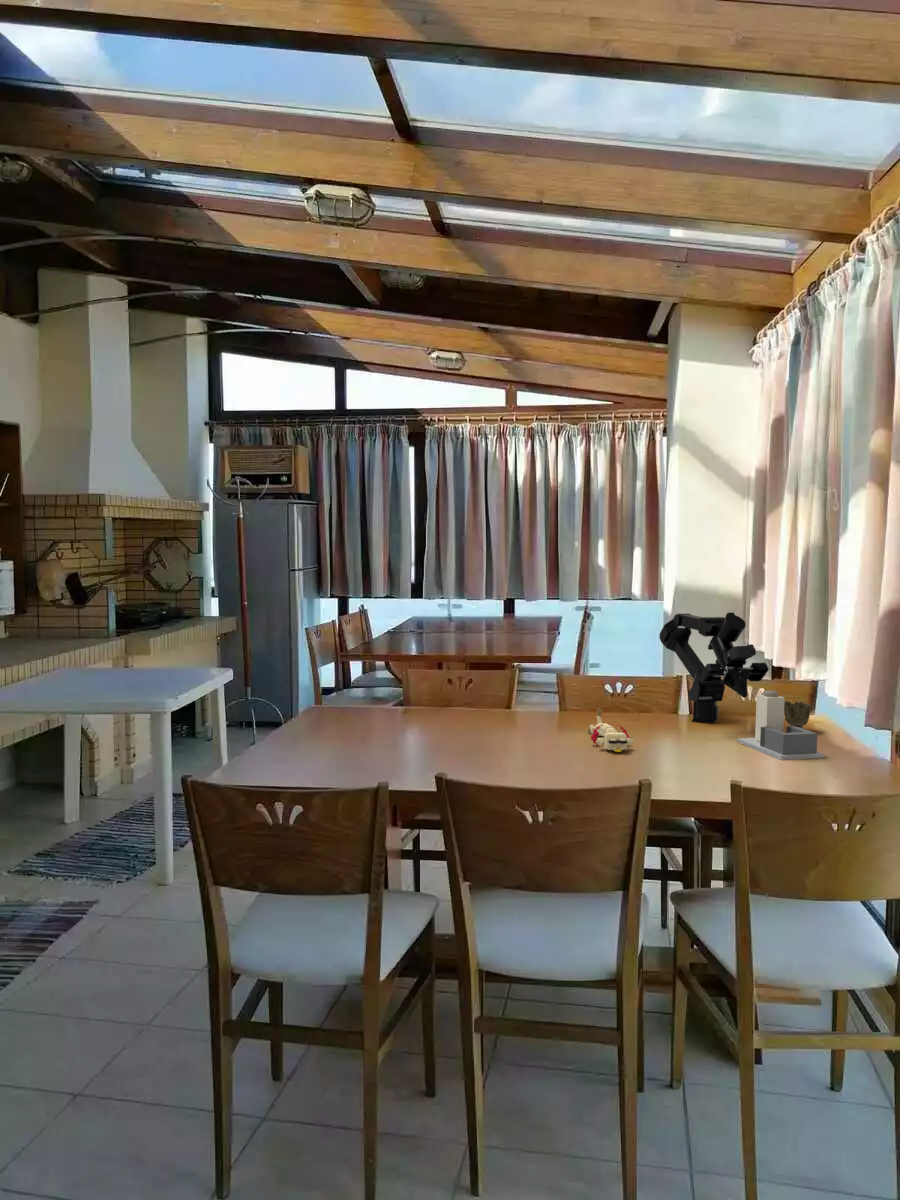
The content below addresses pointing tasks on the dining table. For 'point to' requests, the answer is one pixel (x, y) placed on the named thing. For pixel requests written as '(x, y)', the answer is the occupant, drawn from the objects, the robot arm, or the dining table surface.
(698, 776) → the dining table surface
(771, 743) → the socket
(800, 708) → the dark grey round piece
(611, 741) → the cream blocky figure
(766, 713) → the beige block
